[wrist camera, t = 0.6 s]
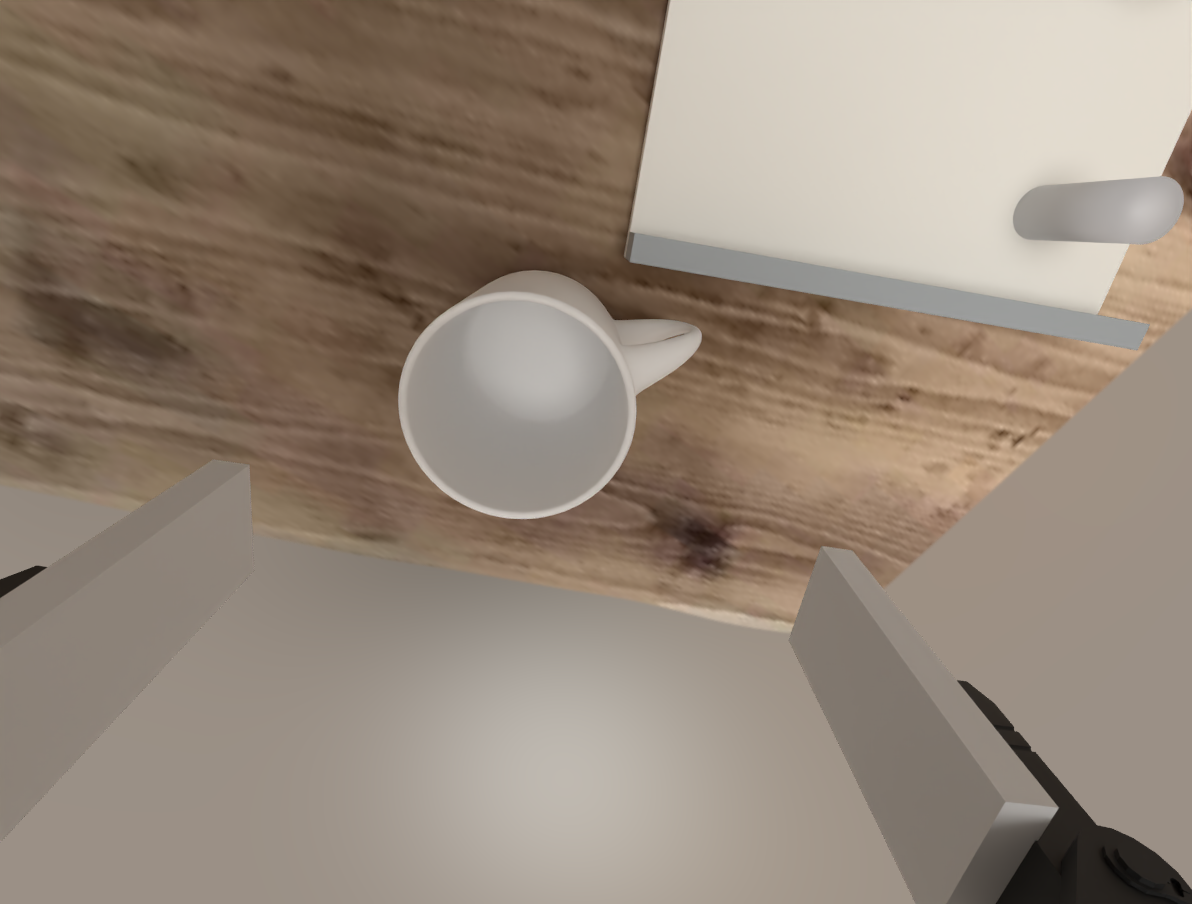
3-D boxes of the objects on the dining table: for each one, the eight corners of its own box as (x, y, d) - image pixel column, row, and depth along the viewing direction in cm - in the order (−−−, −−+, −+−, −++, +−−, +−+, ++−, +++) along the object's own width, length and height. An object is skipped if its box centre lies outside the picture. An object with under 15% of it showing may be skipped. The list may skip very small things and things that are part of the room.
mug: (697, 392, 32) (747, 468, 22) (487, 446, 33) (445, 542, 23) (663, 229, 29) (704, 233, 19) (433, 293, 30) (359, 328, 20)
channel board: (720, -301, 23) (778, -522, 16) (1289, -159, 24) (1556, -304, 18) (623, 256, 30) (635, 267, 23) (1068, 334, 32) (1199, 364, 25)
